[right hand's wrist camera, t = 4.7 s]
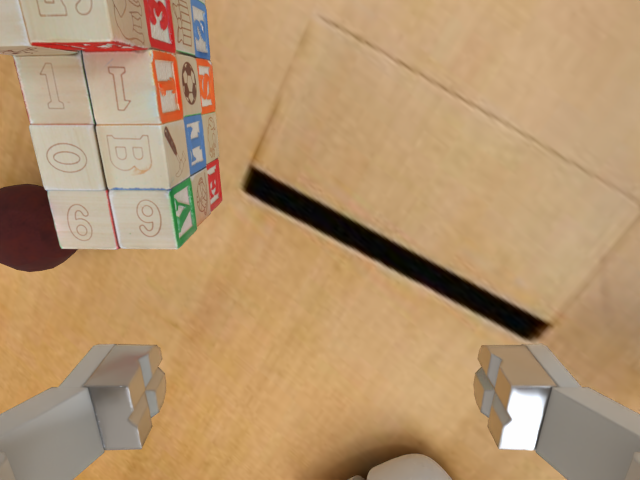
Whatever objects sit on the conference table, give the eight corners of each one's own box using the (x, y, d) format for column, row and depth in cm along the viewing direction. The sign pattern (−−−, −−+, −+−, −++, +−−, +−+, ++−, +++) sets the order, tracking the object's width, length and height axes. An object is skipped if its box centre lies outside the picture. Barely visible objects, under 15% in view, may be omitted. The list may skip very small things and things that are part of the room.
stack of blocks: (226, 201, 29) (152, 280, 18) (139, 201, 29) (11, 278, 18) (192, -196, 21) (22, -517, 10) (74, -192, 22) (-225, -502, 10)
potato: (5, 176, 36) (-67, 197, 30) (91, 175, 36) (36, 196, 29) (28, 253, 39) (-34, 287, 32) (108, 252, 39) (61, 287, 32)
